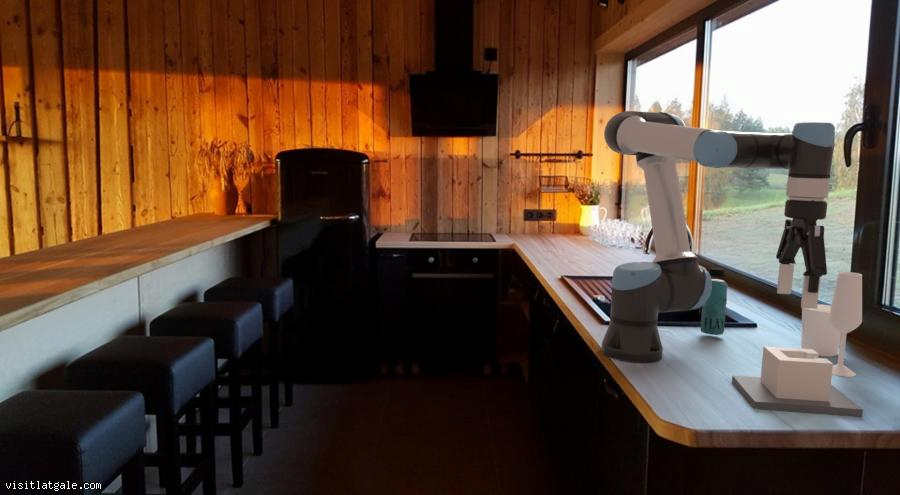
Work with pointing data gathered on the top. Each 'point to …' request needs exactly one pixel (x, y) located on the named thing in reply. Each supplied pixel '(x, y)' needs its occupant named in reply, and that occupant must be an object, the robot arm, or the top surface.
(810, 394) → the beige notched hollow block
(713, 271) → the beverage bottle
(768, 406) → the base plate
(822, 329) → the candle holder
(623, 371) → the top surface
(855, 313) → the champagne flute
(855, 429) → the top surface
